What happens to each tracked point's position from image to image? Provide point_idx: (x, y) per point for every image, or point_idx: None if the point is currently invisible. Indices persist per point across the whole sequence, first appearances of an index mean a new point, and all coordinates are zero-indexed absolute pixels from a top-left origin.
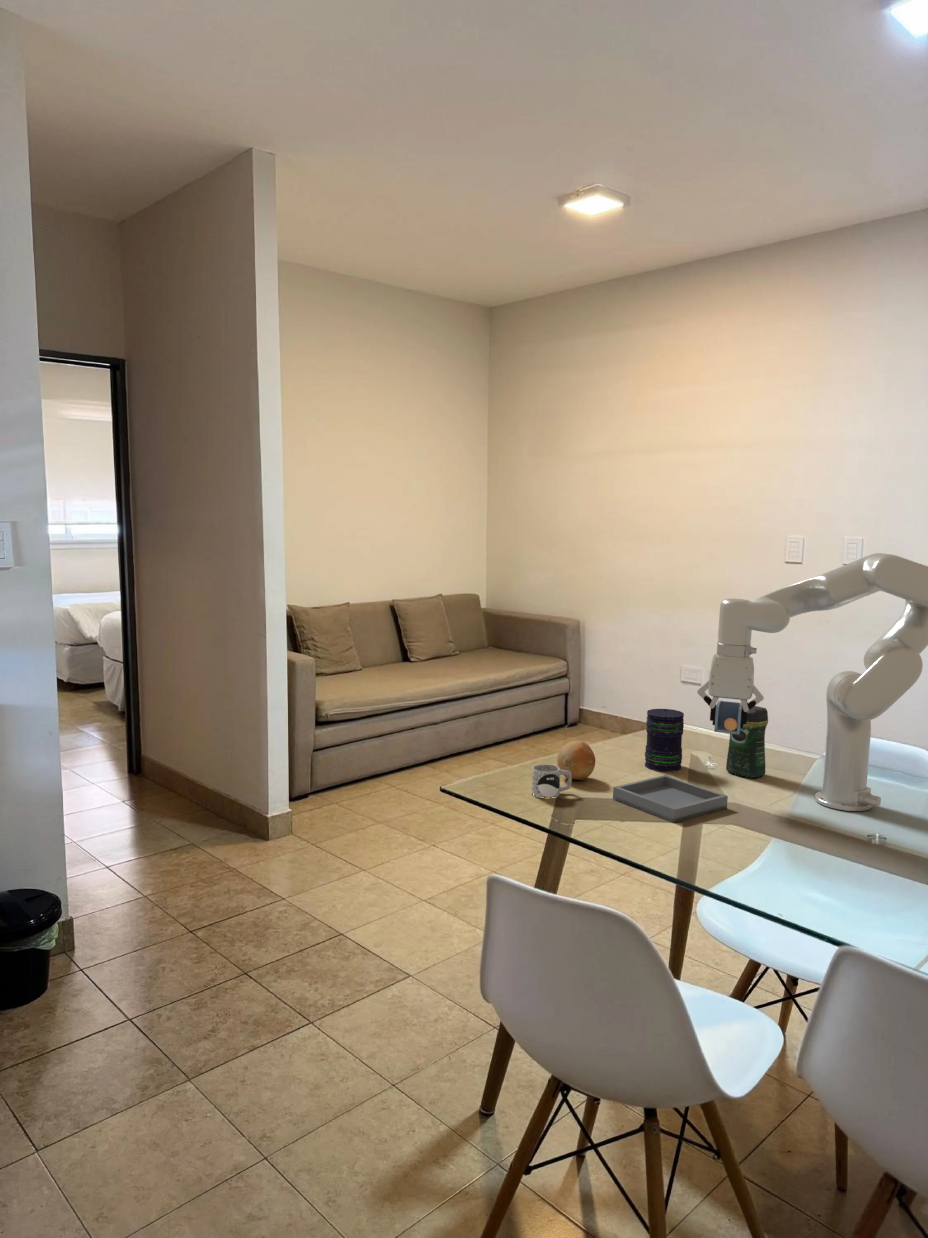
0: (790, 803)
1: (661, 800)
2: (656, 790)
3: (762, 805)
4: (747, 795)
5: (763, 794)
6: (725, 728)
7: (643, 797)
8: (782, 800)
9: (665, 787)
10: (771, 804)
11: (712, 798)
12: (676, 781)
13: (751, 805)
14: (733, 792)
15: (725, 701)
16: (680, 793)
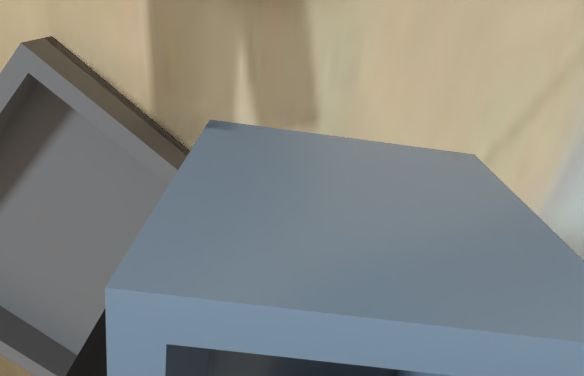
0: (577, 130)
1: (72, 262)
2: (29, 149)
3: None
4: (416, 65)
5: (495, 29)
6: (286, 368)
7: (8, 355)
8: (556, 98)
9: (56, 97)
10: (490, 162)
11: None
12: (89, 118)
13: None
14: (359, 35)
15: (279, 344)
16: (129, 164)
